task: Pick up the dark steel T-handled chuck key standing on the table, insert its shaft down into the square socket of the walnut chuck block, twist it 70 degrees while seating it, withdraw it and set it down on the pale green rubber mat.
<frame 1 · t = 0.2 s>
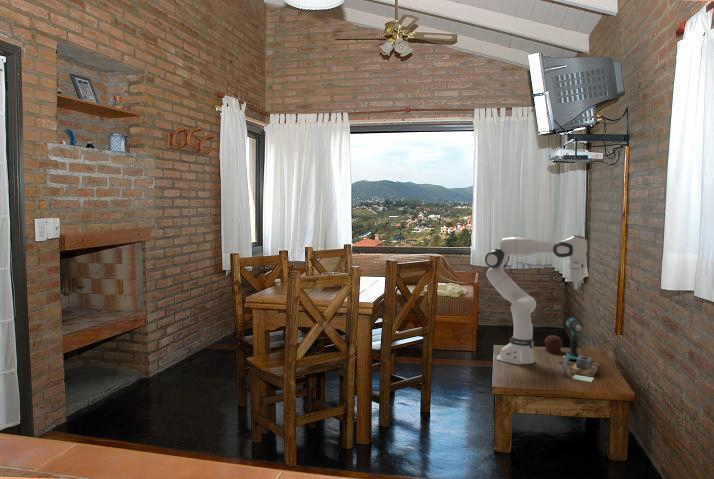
hand: (577, 288, 323), 47 cm above the table, fingers open, 8 cm apart
chuck key: (564, 374, 315), on the table
power drill: (574, 360, 345), on the table
chuck block: (583, 372, 320), on the table
mat: (583, 378, 308), on the table
muffin: (553, 351, 366), on the table
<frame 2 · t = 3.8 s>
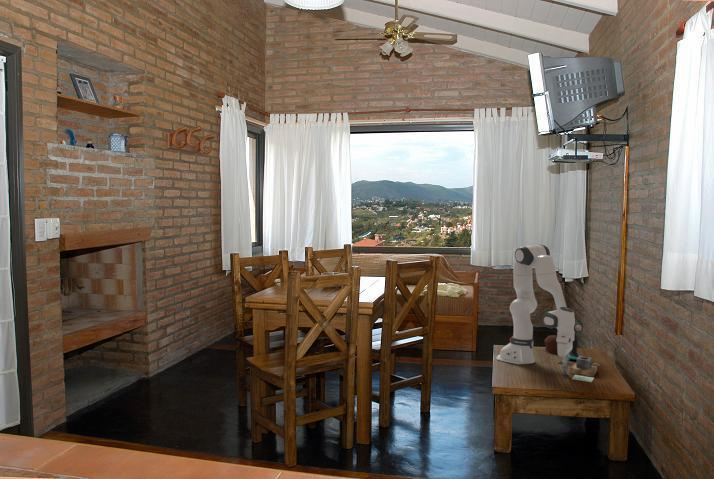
hand: (565, 361, 314), 8 cm above the table, fingers closed on chuck key, 3 cm apart
chuck key: (564, 374, 315), on the table, touching gripper
everything else where it was.
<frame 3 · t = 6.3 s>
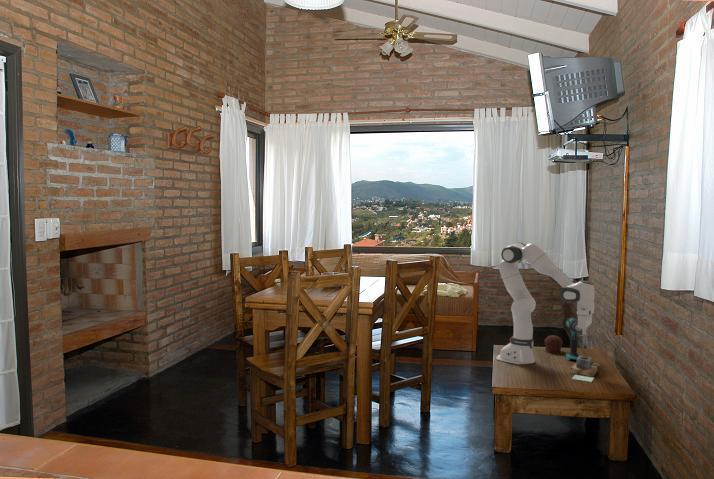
hand: (585, 334, 318), 22 cm above the table, fingers closed on chuck key, 3 cm apart
chuck key: (584, 348, 319), point 14 cm above the table, touching gripper
everything else where it was.
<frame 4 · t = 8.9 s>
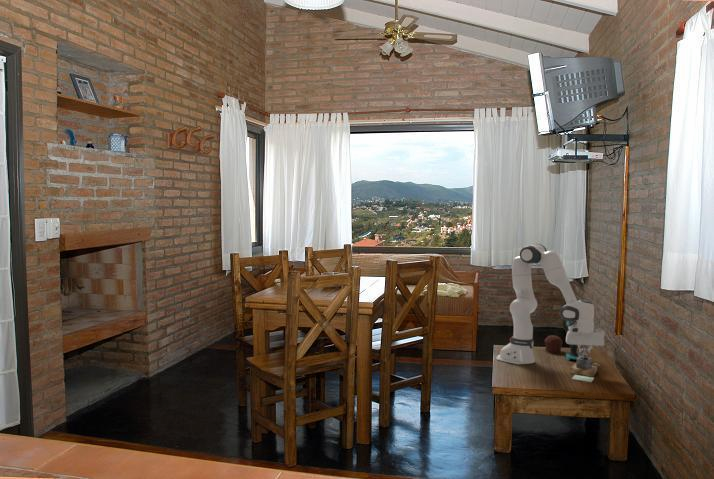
hand: (584, 352, 319), 11 cm above the table, fingers closed on chuck key, 3 cm apart
chuck key: (584, 367, 319), point 3 cm above the table, touching chuck block, gripper
everything else where it was.
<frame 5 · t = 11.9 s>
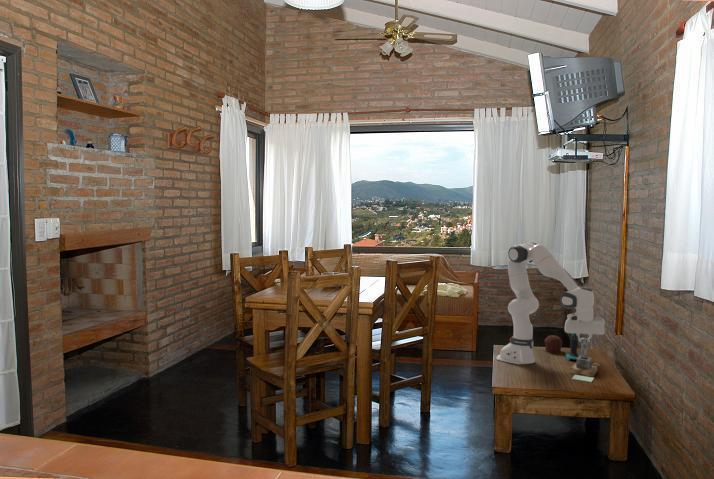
hand: (584, 341, 306), 20 cm above the table, fingers closed on chuck key, 3 cm apart
chuck key: (583, 357, 307), point 12 cm above the table, touching gripper
everything else where it was.
when the fingers open (9 cm above the table, at t = 14.1 s): chuck key stays where it is, resting on mat.
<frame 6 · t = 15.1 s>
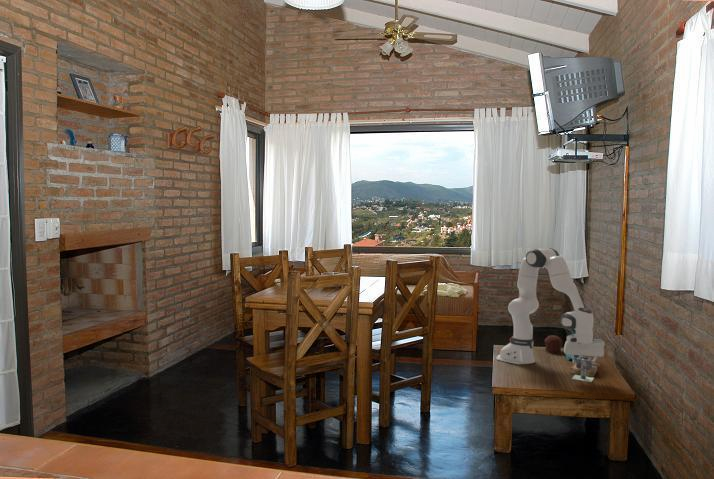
hand: (583, 363, 307), 9 cm above the table, fingers open, 8 cm apart
chuck key: (583, 378, 308), resting on mat
everything else where it was.
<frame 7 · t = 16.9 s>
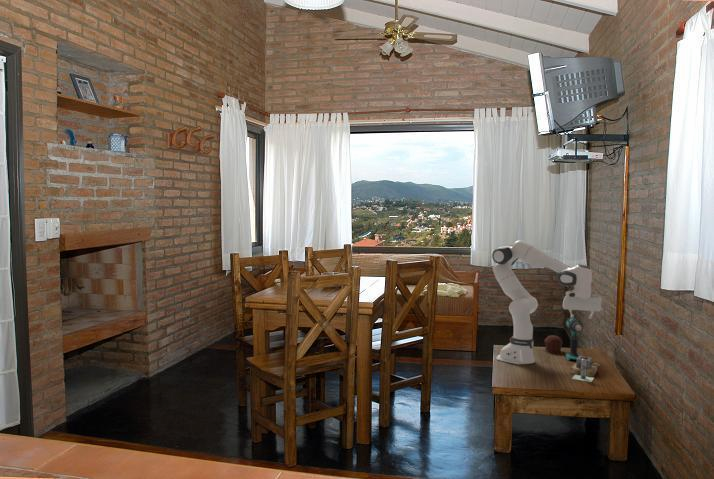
hand: (581, 318, 317), 31 cm above the table, fingers open, 8 cm apart
nothing on the table moved.
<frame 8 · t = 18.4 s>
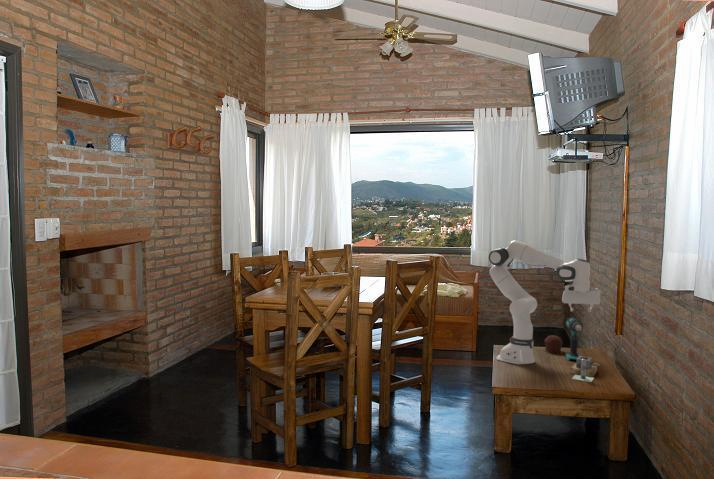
hand: (580, 311, 321), 34 cm above the table, fingers open, 8 cm apart
nothing on the table moved.
at the end: chuck key inside the target area on the mat (0.1 cm from its centre), point 0.4 cm above the mat's base; the gripper is holding nothing; chuck key touching mat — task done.
